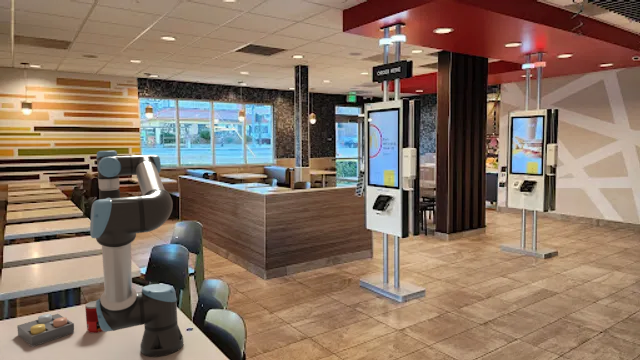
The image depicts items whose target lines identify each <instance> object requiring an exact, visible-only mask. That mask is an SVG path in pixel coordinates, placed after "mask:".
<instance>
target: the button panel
mask: <svg viewBox="0 0 640 360" xmlns="http://www.w3.org/2000/svg"><path fill="white" fill-rule="evenodd" d="M51 315H52V314H51ZM61 317H63V316H62V315H61V314H60V313H56V314H53V315H52V321H50V322H46V323H43V324H45V330H46V331H45V332H42V333H38V334H35V335H32V334H31V327H32V326H34V325H37V324H39V322H38V319H35V320H32V321H28V322H24V323H22V324H18V325H16V326H17V327H16V328H17V336H18V337H20V338H21V339H22V340H23V341H24V342H26V343H27V344H29V346H31V347H35V346H38V345H42V344H44V343H47V342H50V341H52V340H56V339H59V338H62V337H65V336H68V335H71V334H74V333H75V324H74V323H73V322H72V321H71V320H69V319H67V325H64V326H61V327H57V328H55V327H54V325H53V320H55V319H57V318H61Z"/></svg>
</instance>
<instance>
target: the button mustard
mask: <svg viewBox="0 0 640 360" xmlns="http://www.w3.org/2000/svg"><path fill="white" fill-rule="evenodd" d="M45 331H46V330H45V324H37V325H34V326H32V327H31V334H32V335H35V334H38V333H42V332H45Z"/></svg>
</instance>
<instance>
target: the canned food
mask: <svg viewBox="0 0 640 360" xmlns="http://www.w3.org/2000/svg"><path fill="white" fill-rule="evenodd" d="M96 301H97V300H93V301H92V300H91V301H89V302H87V303H86V304H85V319H86V330H87V332H88V333H91V334H96V333H97V334H98V333H101V332H103V331H102V330H101V328H100V325H99V321H98V315H97V310H96Z"/></svg>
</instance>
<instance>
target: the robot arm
mask: <svg viewBox="0 0 640 360" xmlns="http://www.w3.org/2000/svg"><path fill="white" fill-rule="evenodd" d="M96 165H97V167H96V168H97V177H98V179H97V181H98V189H99V192H98V193H99V195H98V196H99V199H96V200H94V201H93V202H92V204H91V210H90V224H89V225H90V226H89V227H90V229H89V233H90V237H91V238H92V239H95V241H96V242H97V244H98V245H100V246H101V250H102V251H101V252H102V253H101V254H102V266H103V268H102V269H103V270H102V271H103V283H104V291H103V292H102V294H101V295H100V298H98V299H97V300H95V301H96V310H97V315H98V321H99V325H100V328H101V330H102V332H106V333H107V332H114V331H119V330H124V329H129V328H134V327H137V326H142V325H143V326H144V331H143V335H142V338H141V342H140V353H141V354H142V355H145V356H147V357H163V356H168V355H171V354H174V353H176V352H177V350H178V349H179V350H180V349H182V347H183V346H184V344H183V343H184V336H183V334H182V331H181V329H180V327H179V324H178V309H177V307H178V306H177V301H178V298H177V294H176V289H175V288H174V287H173V286H171V285H168V284H164V283H163V284H162V283H154V284H153V283H151V284H148V285H144V286H143V287H142V289H141V291H139V292H137V291H136V290H135V289H134V287H133V278H132V277H133V275H132V274H133V271H132V270H133V269H132V266H133V265H132V243H133V242H134V241H135V239H136V238H137V234H142V233H149V232H152V231H155V230H157V229H159V228H160V227H161V226H162V225H164V224H165V223H166V222H167V220H168V219H169V218H170V216H171V214H172V212H173V207H174V206H173V204H174V203H173V199H172V197H171V195H170V193H169V191H167V190H166V189H165V187H164V185H163V182H162V179H161V177H160V172H161V171H162V169H161V168H162V165H161V158H160V156H159V155H157V154H142V155H141V154H140V155H138V154H137V155H121V156H120V155H118V152H117V151H116V150H99V151H97V152H96ZM123 176H136V177H137V181H138V184H139V188H140V192H141V195H137V196H136V195H135V196H125V197H121V190H120V177H123ZM179 350H178V351H179ZM175 351H176V352H175ZM173 352H174V353H173Z"/></svg>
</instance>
